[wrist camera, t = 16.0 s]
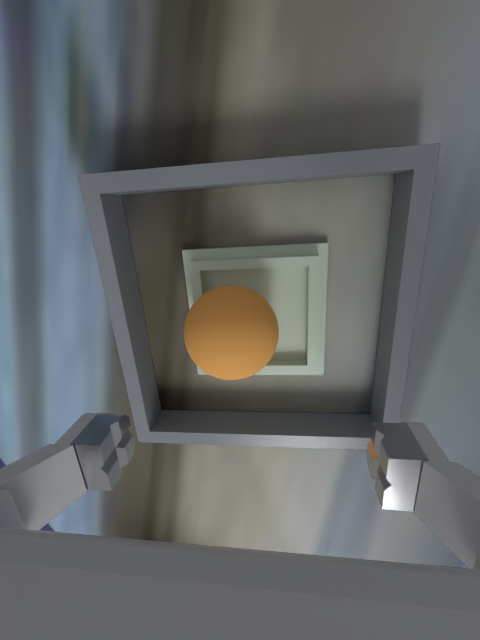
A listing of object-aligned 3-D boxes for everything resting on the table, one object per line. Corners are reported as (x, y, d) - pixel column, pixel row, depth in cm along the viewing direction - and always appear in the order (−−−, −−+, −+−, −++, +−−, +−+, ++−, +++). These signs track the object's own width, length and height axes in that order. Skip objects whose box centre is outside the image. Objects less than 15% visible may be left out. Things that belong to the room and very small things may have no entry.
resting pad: (327, 242, 18) (330, 244, 17) (322, 372, 22) (325, 381, 20) (183, 249, 20) (178, 252, 18) (199, 371, 23) (195, 380, 22)
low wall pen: (417, 151, 16) (440, 143, 14) (383, 425, 23) (395, 450, 20) (102, 178, 19) (78, 174, 16) (151, 419, 25) (138, 442, 23)
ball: (294, 279, 18) (242, 306, 13) (294, 364, 19) (248, 411, 15) (219, 273, 21) (156, 294, 16) (225, 347, 22) (170, 383, 18)
